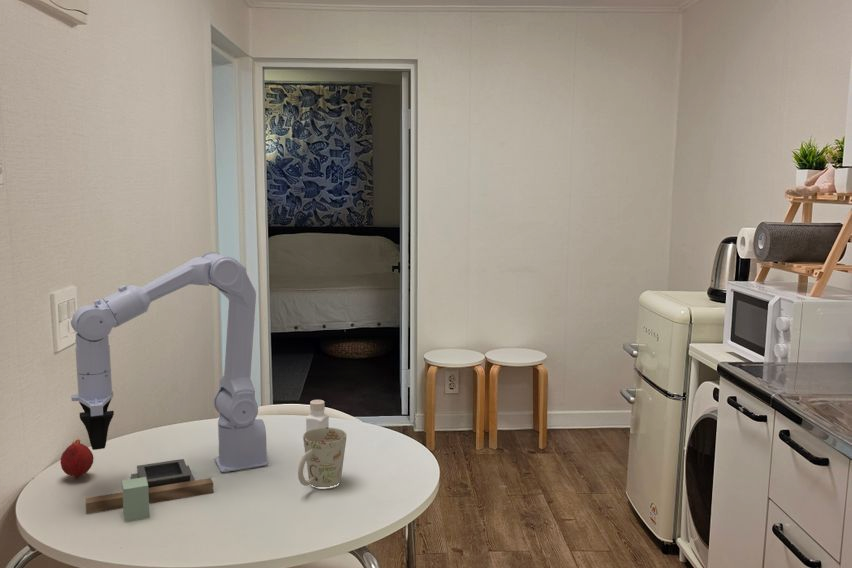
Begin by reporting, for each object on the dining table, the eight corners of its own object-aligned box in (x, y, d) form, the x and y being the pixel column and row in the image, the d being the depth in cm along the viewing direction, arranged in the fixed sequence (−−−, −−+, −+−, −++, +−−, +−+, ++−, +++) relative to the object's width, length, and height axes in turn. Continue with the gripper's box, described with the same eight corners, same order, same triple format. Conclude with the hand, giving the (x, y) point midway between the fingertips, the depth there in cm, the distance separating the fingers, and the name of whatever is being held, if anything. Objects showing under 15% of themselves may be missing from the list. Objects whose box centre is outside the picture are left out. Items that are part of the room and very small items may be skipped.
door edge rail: (211, 487, 143) (210, 477, 143) (213, 492, 141) (213, 482, 141) (85, 508, 134) (85, 498, 134) (86, 514, 132) (85, 503, 131)
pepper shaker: (321, 446, 165) (320, 405, 164) (305, 444, 167) (304, 403, 165) (329, 440, 169) (329, 400, 167) (314, 438, 170) (313, 398, 169)
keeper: (188, 468, 152) (188, 456, 152) (197, 489, 143) (197, 476, 142) (131, 477, 148) (130, 464, 147) (136, 499, 138) (135, 486, 137)
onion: (81, 485, 143) (79, 446, 142) (55, 482, 144) (52, 443, 143) (100, 473, 149) (98, 435, 148) (74, 471, 150) (72, 433, 149)
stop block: (147, 508, 135) (145, 476, 134) (149, 517, 131) (148, 485, 130) (123, 512, 133) (121, 480, 132) (125, 522, 129) (123, 489, 128)
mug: (354, 479, 148) (354, 431, 147) (319, 504, 137) (319, 453, 135) (318, 471, 152) (318, 424, 150) (282, 495, 140) (281, 445, 139)
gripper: (70, 363, 141) (74, 431, 144) (69, 383, 129) (74, 458, 131) (110, 359, 144) (113, 426, 147) (114, 379, 132) (117, 452, 134)
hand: (98, 441), depth 139 cm, fingers open, 7 cm apart
